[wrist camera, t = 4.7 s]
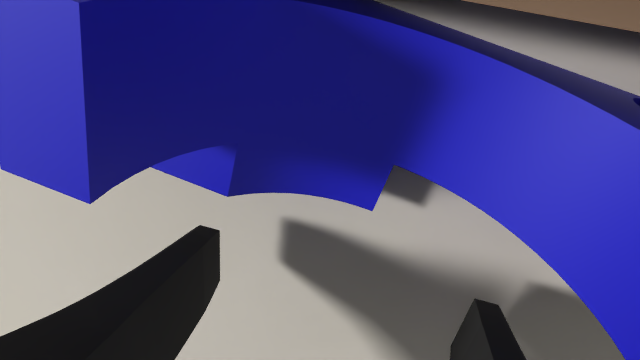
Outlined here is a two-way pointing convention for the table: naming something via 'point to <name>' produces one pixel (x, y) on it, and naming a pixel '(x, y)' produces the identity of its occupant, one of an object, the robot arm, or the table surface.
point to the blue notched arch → (329, 119)
